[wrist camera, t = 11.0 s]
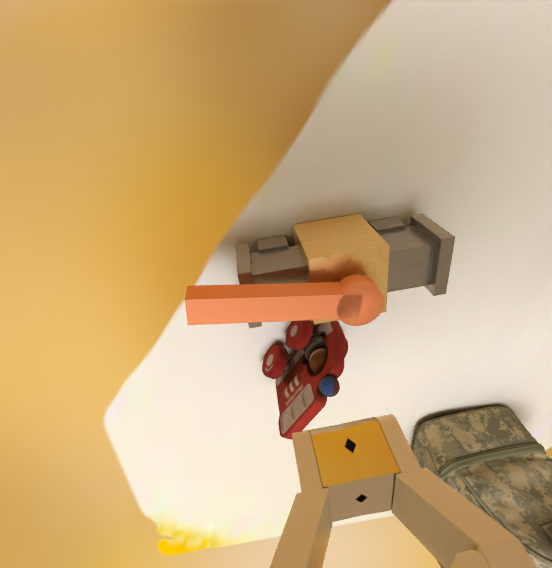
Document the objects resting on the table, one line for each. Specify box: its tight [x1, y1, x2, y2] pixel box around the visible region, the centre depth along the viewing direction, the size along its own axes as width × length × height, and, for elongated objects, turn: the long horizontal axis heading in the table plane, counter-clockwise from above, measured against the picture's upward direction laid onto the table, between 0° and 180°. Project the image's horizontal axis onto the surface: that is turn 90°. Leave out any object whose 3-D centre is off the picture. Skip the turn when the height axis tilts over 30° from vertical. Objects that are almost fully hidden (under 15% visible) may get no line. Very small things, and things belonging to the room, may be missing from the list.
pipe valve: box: [236, 214, 455, 328], centre depth 34 cm, size 19×7×9 cm, turn 97°
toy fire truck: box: [262, 320, 348, 439], centre depth 40 cm, size 7×12×10 cm, turn 146°
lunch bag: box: [412, 406, 552, 568], centre depth 53 cm, size 26×18×22 cm
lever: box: [185, 275, 384, 326], centre depth 28 cm, size 16×4×2 cm, turn 87°
